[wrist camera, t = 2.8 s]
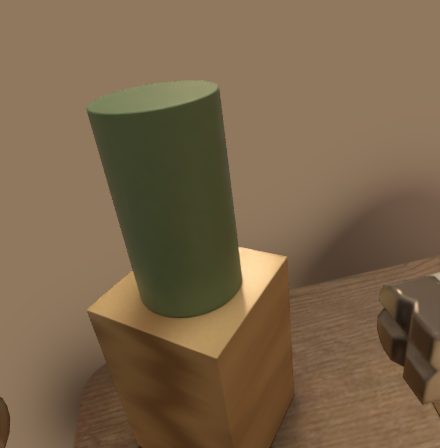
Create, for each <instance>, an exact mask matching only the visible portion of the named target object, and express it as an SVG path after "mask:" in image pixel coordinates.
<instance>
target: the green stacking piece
mask: <svg viewBox="0 0 440 448" xmlns="http://www.w3.org/2000/svg"><path fill="white" fill-rule="evenodd" d="M87 113H88V116H89V120H90V123H91V127H92V130H93V134H94V137H95V141H96V144H97V148H98V151H99V154H100V158H101V161H102V165H103V168H104V172H105V175H106V178H107V182H108V186H109V189H110V193H111V196H112V200H113V203H114V207H115V210H116V213H117V217H118V221H119V224H120V228H121V231H122V234H123V238H124V241H125V245H126V248H127V252H128V255H129V259H130V262H131V266H132V269H133V273H134V276H135V280H136V283H137V287H138V290H139V294H140V297H141V300H142V302H143V303H144V304H145V306H146V307H148V308H149V309H150V310H152V311H153V312H155V313H158V314H160V315H164V316H168V317H179V318H181V317H192V316H198V315H202V314H205V313H208V312H211V311H213V310H215V309H217V308H219V307H221V306H223V305H224V304H225V303H227V302H228V301H229V300H230V299H232V297H233V296H234V295H235V294H236V293H237V291H238V290H239V287H240V285H241V282H242V271H241V263H240V255H239V247H238V239H237V230H236V222H235V215H234V206H233V197H232V189H231V181H230V173H229V165H228V157H227V148H226V140H225V132H224V124H223V115H222V108H221V99H220V91H219V86H218V85H217V84H216V83H213V82H209V81H199V80H190V81H189V80H187V81H173V82H163V83H156V84H150V85H145V86H139V87H134V88H130V89H126V90H122V91H118V92H114V93H111V94H109V95H106V96H103V97H100V98H98V99H96V100H94V101H93V102H91V103H90V104H88V106H87Z"/></svg>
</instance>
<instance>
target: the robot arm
mask: <svg viewBox="0 0 440 448" xmlns="http://www.w3.org/2000/svg"><path fill="white" fill-rule="evenodd" d="M379 301H380V302H381V304H382V305H383V306H384V309H383V310H382V312H381V313H380V314H379V315H378V318H377V330H378V335H379V339H380V342H381V344H382V346H383V348H384V350H385V352H386V353H387V355H388V356H389V358H390V359H391V360H392V361H394V362H396V363H398V364H399V365H401V366H403V367H404V372H403V378H404V379H405V381H406V382H407V384H408V385H409V387H410V388H411V389H412V391H413V392H414V394H415V395H416V396H417V398H418V399H419V401H420V402H421V403H422V405H424V404H429V403H434V402H439V401H440V273H436V274H431V275H428V276H424V277H419V278H415V279H410V280H405V281H401V282H396V283H392V284H387V285H383V287H382V288H381V290H380V296H379ZM9 430H10V415H9V411H8V408H7V405H6V403H5V402H4V400H3V398H1V397H0V448H5V446H6V443H7V440H8V436H9V432H10V431H9Z"/></svg>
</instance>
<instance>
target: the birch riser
mask: <svg viewBox="0 0 440 448" xmlns="http://www.w3.org/2000/svg"><path fill="white" fill-rule="evenodd" d="M239 255H240V263H241V271H242V282H241V285H240V287H239V290H238V291H237V293H236V294H235V295H234V296H233V297H232V299H230V300H229V301H228V302H227V303H225V304H224V305H223V306H221V307H219V308H217V309H215V310H213V311H211V312H208V313H205V314H202V315H198V316H192V317H181V318H179V317H168V316H164V315H160V314H158V313H155V312H153V311H152V310H150V309H149V308H148V307H146V306H145V304H144V303H143V302H142V300H141V297H140V294H139V290H138V287H137V283H136V280H135V276H134V273H133V270H132V271H131V272H130V273H129V274H127V275H126V276H125V277H124V278H123V279H122V280H120V281H119V282H118V283H117V284H116V285H115V286H113V287H112V288H111V289H110V290H109V291H108V292H107V293H105V294H104V295H103V296H102V297H101V298H100V299H98V300H97V301H96V302H95V303H94V304H93V305H92V306H90V307H89V308H88V309H87V313H88V315H89V318H90V321H91V323H92V325H93V328H94V331H95V333H96V336H97V339H98V342H99V344H100V347H101V349H102V352H103V355H104V357H105V360H106V363H107V365H108V368H109V370H110V373H111V376H112V378H113V381H114V383H115V386H116V389H117V391H118V394H119V397H120V399H121V402H122V404H123V407H124V410H125V412H126V415H127V418H128V420H129V423H130V425H131V428H132V431H133V433H134V436H135V439H136V441H137V444H138V445H139V446H140V447H142V448H270V446H271V444H272V442H273V439H274V437H275V435H276V433H277V431H278V429H279V426H280V424H281V422H282V420H283V418H284V415H285V413H286V411H287V409H288V407H289V405H290V402H291V400H292V398H293V396H294V382H293V362H292V342H291V322H290V302H289V283H288V263H287V257H285V256H280V255H275V254H270V253H266V252H261V251H256V250H251V249H246V248H241V247H239Z"/></svg>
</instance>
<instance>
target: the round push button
mask: <svg viewBox="0 0 440 448" xmlns="http://www.w3.org/2000/svg"><path fill="white" fill-rule="evenodd" d="M434 405H435V407H436V410H437V412H438V413H439V415H440V401H439V402H434Z"/></svg>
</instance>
